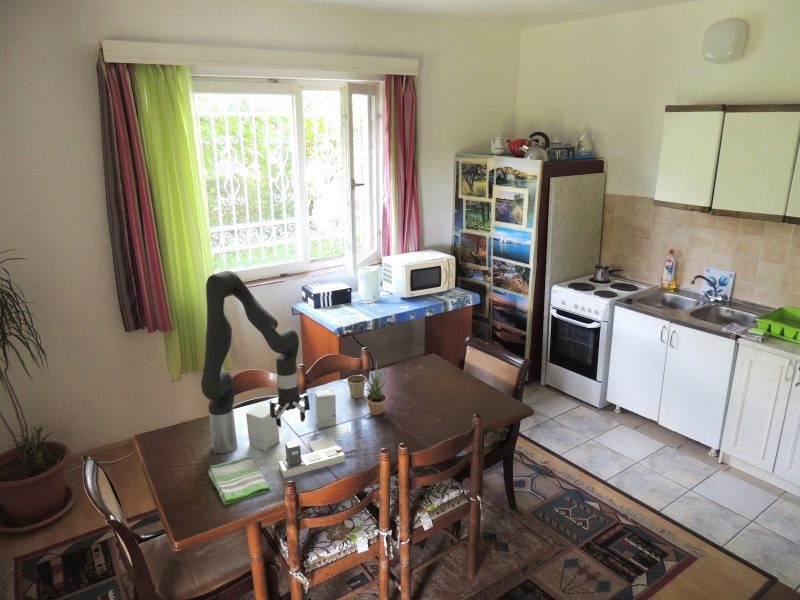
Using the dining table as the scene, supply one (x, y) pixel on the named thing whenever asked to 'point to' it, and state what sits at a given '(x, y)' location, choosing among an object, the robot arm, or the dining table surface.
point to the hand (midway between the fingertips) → (291, 423)
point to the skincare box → (325, 408)
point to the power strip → (314, 461)
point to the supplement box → (262, 428)
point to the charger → (293, 453)
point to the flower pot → (356, 385)
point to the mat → (322, 444)
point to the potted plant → (376, 395)
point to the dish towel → (237, 480)
